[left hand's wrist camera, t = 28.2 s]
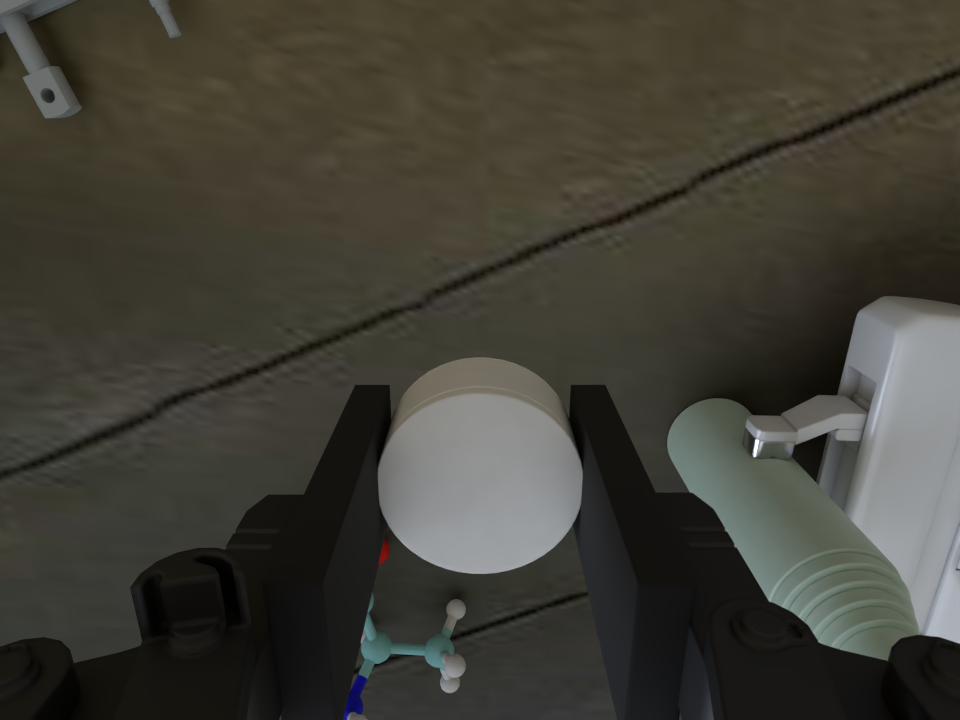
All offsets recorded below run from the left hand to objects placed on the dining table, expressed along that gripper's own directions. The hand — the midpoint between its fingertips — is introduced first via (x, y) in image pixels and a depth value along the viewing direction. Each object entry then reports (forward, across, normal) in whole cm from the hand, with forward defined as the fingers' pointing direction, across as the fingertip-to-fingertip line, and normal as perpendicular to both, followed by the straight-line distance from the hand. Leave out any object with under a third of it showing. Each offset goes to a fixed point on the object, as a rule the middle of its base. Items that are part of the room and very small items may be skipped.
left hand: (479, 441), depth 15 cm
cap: (-2, 0, 0) cm, 2 cm away
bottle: (+21, +14, -11) cm, 27 cm away
